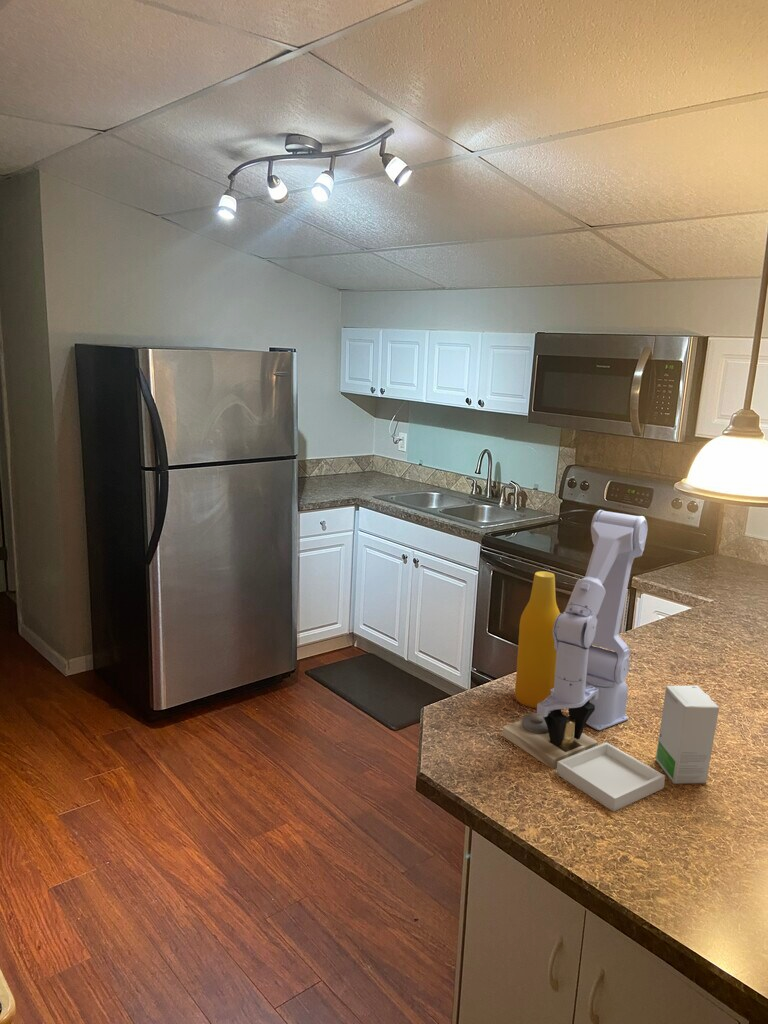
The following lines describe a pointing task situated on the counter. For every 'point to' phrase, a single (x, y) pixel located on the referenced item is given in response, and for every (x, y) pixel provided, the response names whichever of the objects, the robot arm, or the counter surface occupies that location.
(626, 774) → the tray
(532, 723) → the tensioner bracket
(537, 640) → the beer bottle
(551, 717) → the robot arm
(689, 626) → the counter surface
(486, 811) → the counter surface
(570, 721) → the lock pin
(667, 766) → the skincare box
